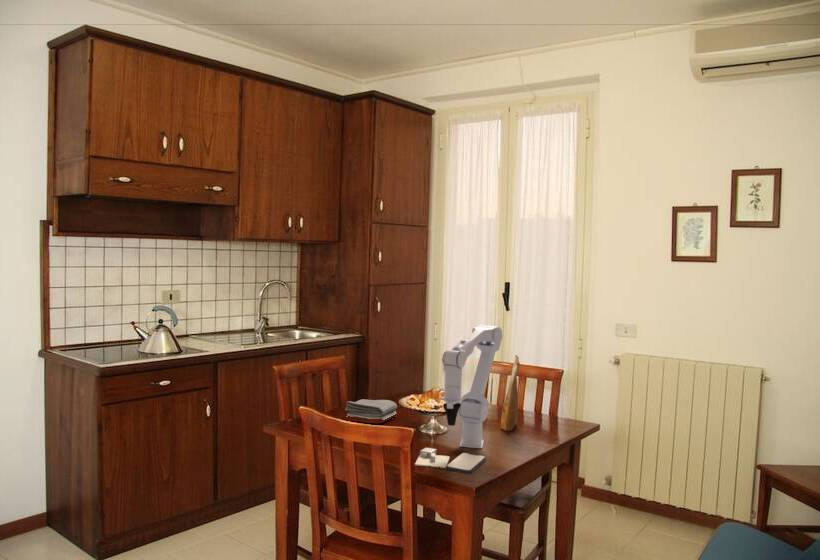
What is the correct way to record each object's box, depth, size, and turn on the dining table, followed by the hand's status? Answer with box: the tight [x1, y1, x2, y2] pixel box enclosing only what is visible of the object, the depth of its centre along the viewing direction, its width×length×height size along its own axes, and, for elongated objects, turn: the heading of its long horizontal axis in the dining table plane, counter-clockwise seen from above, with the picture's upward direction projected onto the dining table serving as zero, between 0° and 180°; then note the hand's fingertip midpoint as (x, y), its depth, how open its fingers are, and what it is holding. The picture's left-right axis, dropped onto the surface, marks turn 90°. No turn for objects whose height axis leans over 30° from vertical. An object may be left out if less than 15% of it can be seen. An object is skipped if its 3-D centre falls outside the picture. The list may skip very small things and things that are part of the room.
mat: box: [414, 454, 451, 469], centre depth 210 cm, size 11×10×1 cm
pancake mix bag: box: [500, 354, 521, 432], centre depth 256 cm, size 7×19×28 cm, turn 165°
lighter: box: [419, 447, 437, 462], centre depth 212 cm, size 7×2×8 cm
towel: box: [344, 398, 398, 420], centre depth 261 cm, size 15×18×8 cm
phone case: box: [445, 452, 487, 474], centre depth 208 cm, size 9×2×16 cm
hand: (451, 425), depth 216 cm, fingers closed
